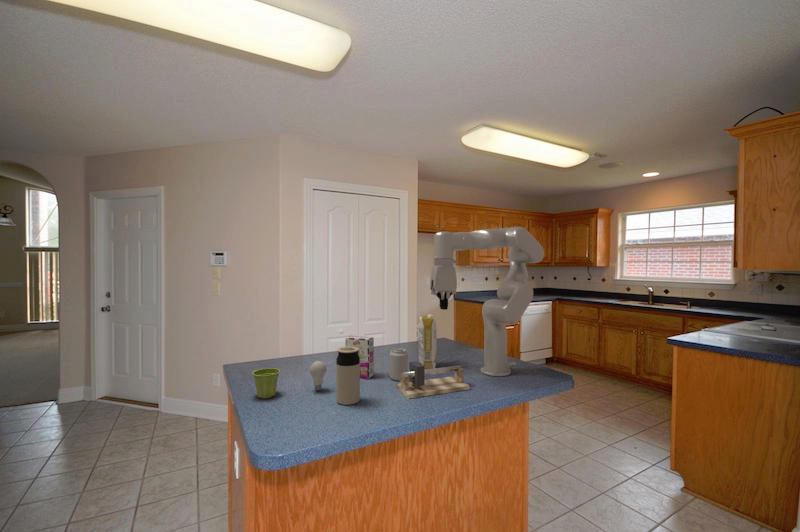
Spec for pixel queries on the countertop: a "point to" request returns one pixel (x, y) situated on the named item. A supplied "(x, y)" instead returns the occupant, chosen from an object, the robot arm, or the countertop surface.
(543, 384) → the countertop surface
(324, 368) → the lightbulb
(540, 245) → the robot arm
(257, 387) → the plant pot
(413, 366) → the collar
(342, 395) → the travel mug
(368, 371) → the candy bar box
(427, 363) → the juice carton
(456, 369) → the pipe
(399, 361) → the can
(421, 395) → the pipe stand
